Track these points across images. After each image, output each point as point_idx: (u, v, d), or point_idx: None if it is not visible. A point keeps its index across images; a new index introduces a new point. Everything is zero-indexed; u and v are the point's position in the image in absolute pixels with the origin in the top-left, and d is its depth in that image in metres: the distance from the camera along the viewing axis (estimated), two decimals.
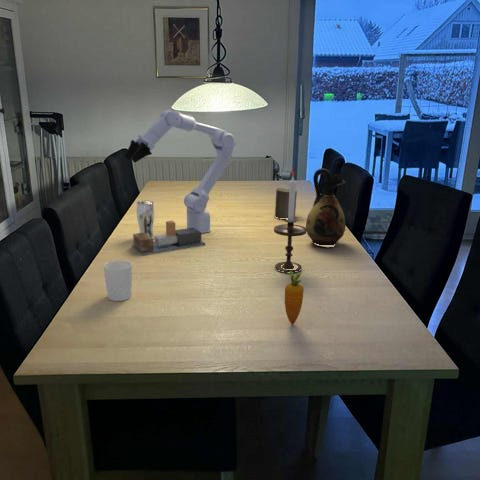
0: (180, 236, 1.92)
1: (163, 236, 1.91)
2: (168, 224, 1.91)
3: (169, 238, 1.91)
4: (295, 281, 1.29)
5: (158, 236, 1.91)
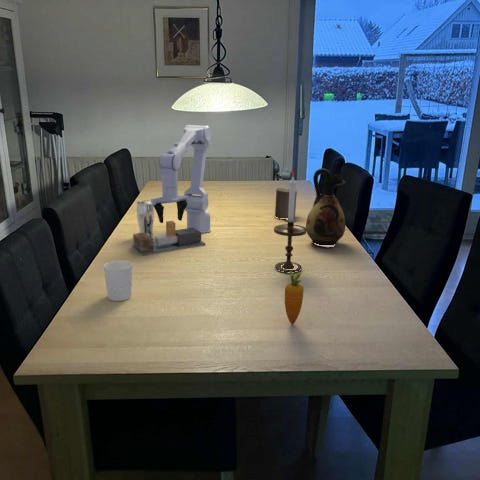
0: (180, 236, 1.92)
1: (163, 236, 1.91)
2: (168, 224, 1.91)
3: (169, 238, 1.91)
4: (295, 281, 1.29)
5: (158, 236, 1.91)
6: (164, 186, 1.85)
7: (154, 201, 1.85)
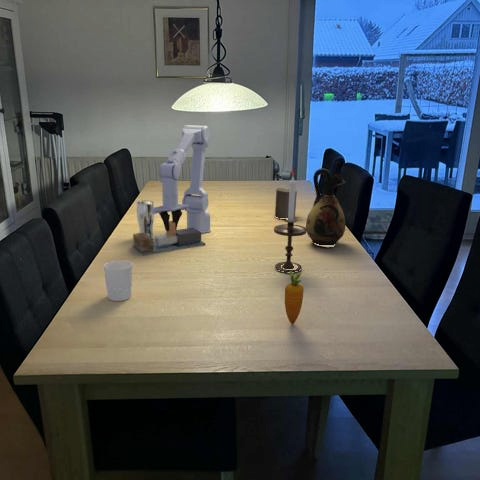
0: (180, 236, 1.92)
1: (163, 236, 1.91)
2: None
3: (169, 238, 1.91)
4: (295, 281, 1.29)
5: (158, 236, 1.91)
6: (164, 195, 1.86)
7: (154, 210, 1.86)
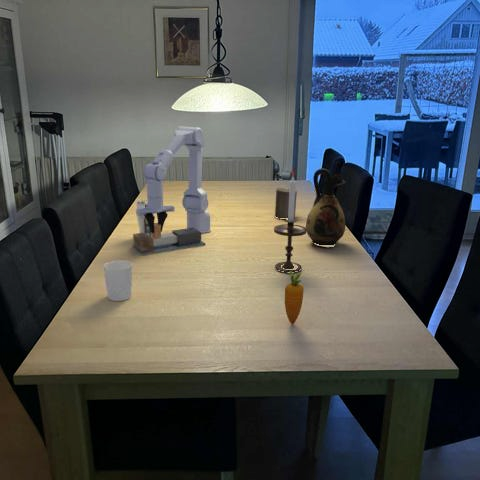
0: (180, 236, 1.92)
1: None
2: None
3: (154, 240, 1.88)
4: (295, 281, 1.29)
5: None
6: (148, 196, 1.83)
7: (139, 212, 1.83)
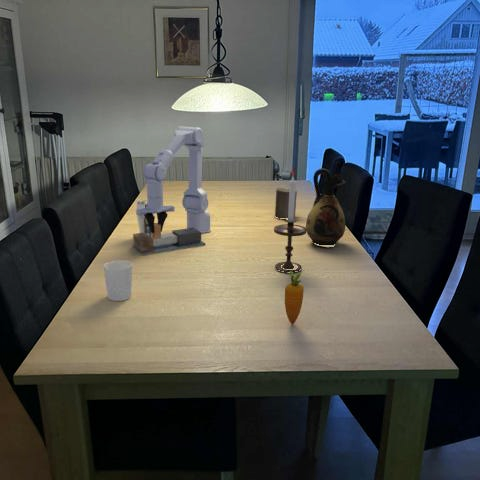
0: (180, 236, 1.92)
1: None
2: None
3: (154, 240, 1.88)
4: (295, 281, 1.29)
5: None
6: (148, 196, 1.83)
7: (139, 212, 1.83)
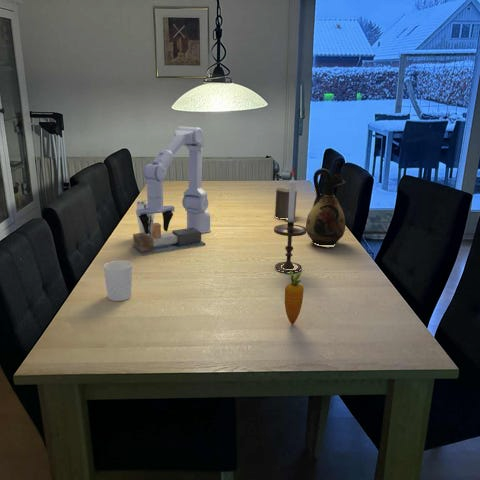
0: (180, 236, 1.92)
1: None
2: (153, 226, 1.88)
3: (154, 240, 1.88)
4: (295, 281, 1.29)
5: None
6: (148, 196, 1.83)
7: (139, 212, 1.83)
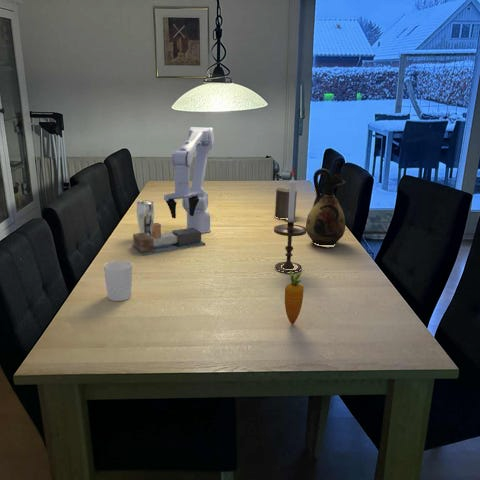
0: (180, 236, 1.92)
1: None
2: (153, 226, 1.88)
3: (154, 240, 1.88)
4: (295, 281, 1.29)
5: None
6: (177, 182, 1.90)
7: (167, 197, 1.89)
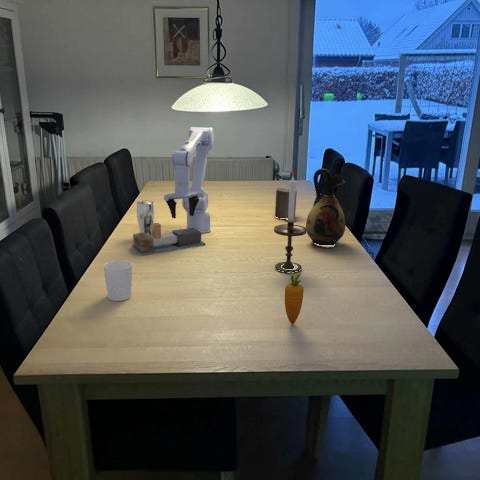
0: (180, 236, 1.92)
1: None
2: (153, 226, 1.88)
3: (154, 240, 1.88)
4: (295, 281, 1.29)
5: None
6: (177, 182, 1.90)
7: (167, 197, 1.89)
